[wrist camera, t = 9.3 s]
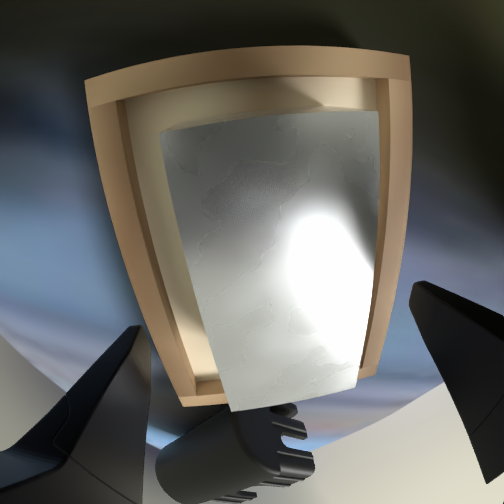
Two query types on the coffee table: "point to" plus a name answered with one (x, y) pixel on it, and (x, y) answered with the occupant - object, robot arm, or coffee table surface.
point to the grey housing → (279, 244)
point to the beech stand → (223, 103)
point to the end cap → (234, 456)
